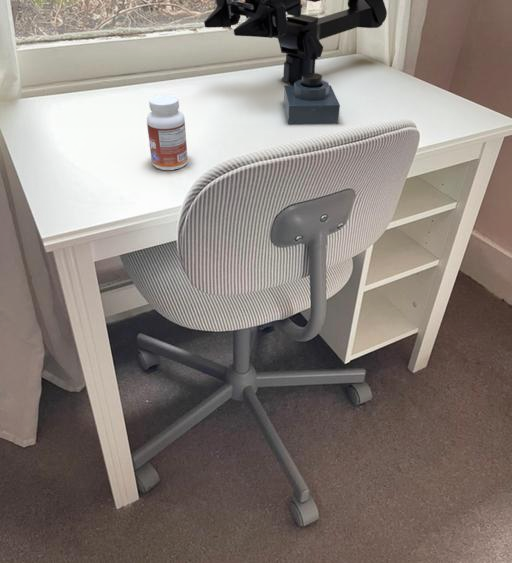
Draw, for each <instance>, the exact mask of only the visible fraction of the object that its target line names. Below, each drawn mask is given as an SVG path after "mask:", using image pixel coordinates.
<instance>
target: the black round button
mask: <svg viewBox="0 0 512 563" xmlns="http://www.w3.org/2000/svg"><path fill="white" fill-rule="evenodd" d="M322 80H323V75H322V74H320V73H317V72H315V73H306V74H303V75H302V86H304V87H309V88H317V87H321V86H322Z"/></svg>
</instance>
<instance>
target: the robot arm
mask: <svg viewBox="0 0 512 563" xmlns="http://www.w3.org/2000/svg"><path fill="white" fill-rule="evenodd" d="M306 1H307V2H312V3H317V2H320V1H321V0H306ZM215 2H216V7H215V8H214V10H213V11H212V12H211V13H210V15H208V17H207V18H206V19H205V20H204V21H203V24H204V27H205V28H207V29H209V28H231V27H232V26H235V25H237V26H236V27H235V28H234V29H233V35H234V36H236V37H252V38H255V37H256V38H269V39H273V38H275V39H277V41H278V44H279V48H280V52H281V54H285V61H284V62H283V76H281V80H282V81H283V82H285V83H286V84H288V85H289V86H294V83H295V82H296V81H298V80H302V75H303V74H306V73H316V72H315V71H316V60H318V58H321V57H322V55H323V50H324V46H323V45H322V43H321V41H320V40H324V39H327V38H329V37H332V36H336V35H339V34H342V33H345V32H348V31H351V30H354V29H356V28H362V29H364V28H365V29H379V28H380V27H381V26H383V23H384V22H385V21H386V19H387V17H388V16H387V15H388V11H387V8H386V5H385V1H384V0H347V7H348V8H347V9H344V10H341V11H337V12H334V13H331V14H327V15H325V16H321V17H316V16H311V15H307V14H304V13H303V14H302V8H303V4H302V0H244V1H241V0H215ZM287 15H289V16H287ZM241 16H244V17H245V18H246V20H245V21H244V22H242V23H240V20H241ZM239 23H240V24H239ZM238 24H239V25H238Z"/></svg>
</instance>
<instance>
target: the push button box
mask: <svg viewBox="0 0 512 563" xmlns="http://www.w3.org/2000/svg"><path fill="white" fill-rule="evenodd" d="M283 87H284V88H283V106H284V112H285V115H286V119H287V124H288V125H338V124H339V118H340V109H341V108H340V107H341V105H340V102H339V100H338V98H337V95H336V94H335V91H334V89H333V87H332V86H331V85H330V84H329V82H327V81H325V80H323V79H322V86H321V87H317V88H309V87H304V86H302V80H298V81H296V82H295V83H294V86H292V85H284V86H283Z"/></svg>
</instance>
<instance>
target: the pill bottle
mask: <svg viewBox="0 0 512 563" xmlns="http://www.w3.org/2000/svg"><path fill="white" fill-rule="evenodd" d="M148 106H149V109H150V112H149V113H148V114H147V117H146V126H147V135H148V143H149V151H150V159H151V164H152V165H153V167H155V168H157V169H158V170H163V171H174V170H178V169H181V168H183V167H184V166H186V165H187V164H188V147H187V133H186V120H185V115H184V114H183V113H182V111H180V103H179V98H178V97H177V96H175V95H173V94H157V95H155V96H152V97H150V98H149V100H148Z"/></svg>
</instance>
